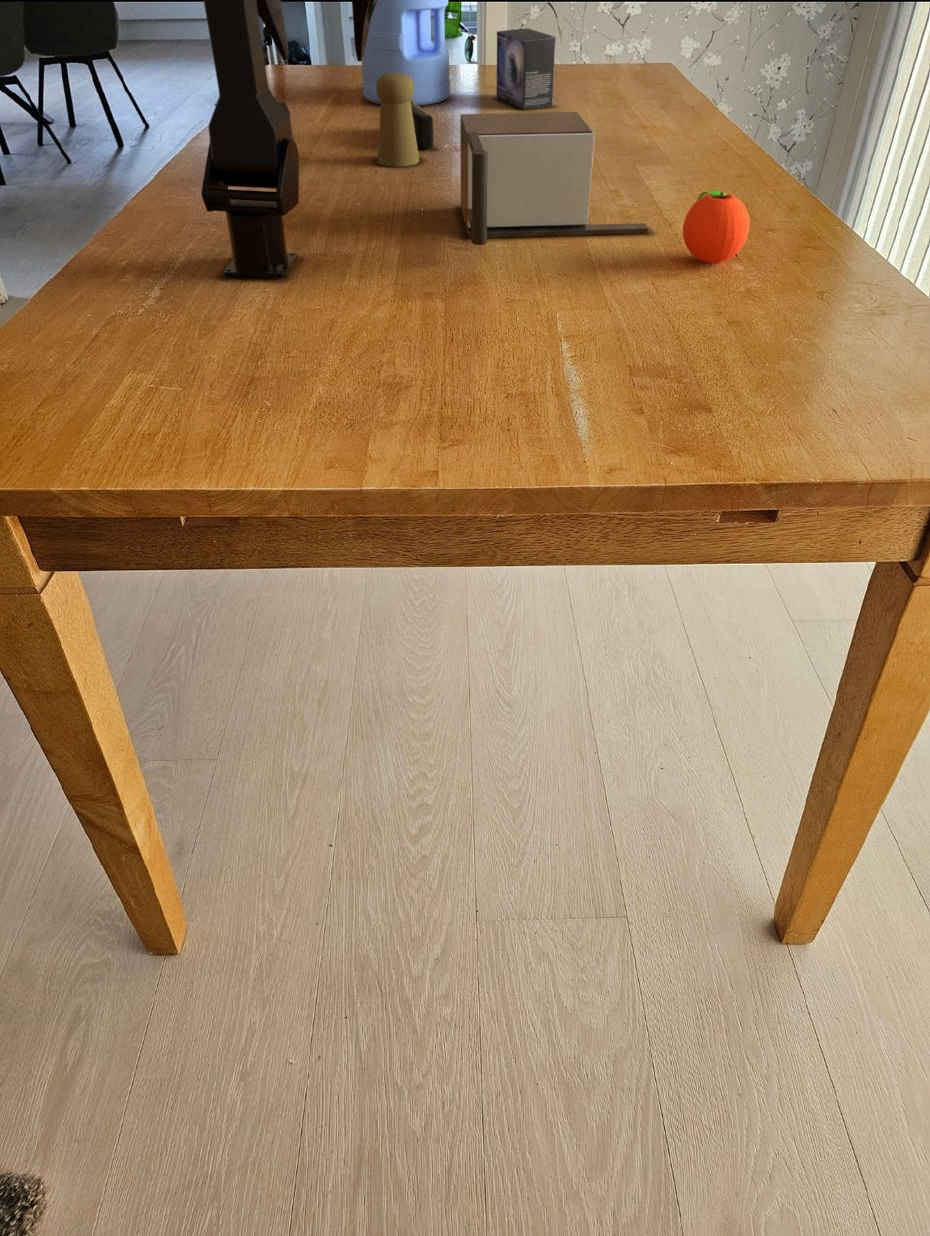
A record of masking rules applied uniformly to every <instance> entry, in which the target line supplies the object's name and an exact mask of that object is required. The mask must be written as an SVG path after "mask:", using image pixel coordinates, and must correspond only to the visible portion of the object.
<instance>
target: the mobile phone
mask: <svg viewBox="0 0 930 1236" xmlns="http://www.w3.org/2000/svg"><path fill="white" fill-rule="evenodd" d="M410 102H411V108H412V115H413V122H414V128H415V135H416V142H417V148H418V150H419V149H420V150H427V149H432V148H433V147H434V119H433V116H432V115H430V114H429V113H427V112H426V111H425V110H424V109H423V108H421V106H417V104H416V103H415V102H414V101H413V100H412V99H411V101H410Z"/></svg>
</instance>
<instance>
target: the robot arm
mask: <svg viewBox="0 0 930 1236" xmlns="http://www.w3.org/2000/svg"><path fill="white" fill-rule="evenodd" d="M377 1H378V0H351V8H352V22H353V24H352V25H353V36H354V37H353V38H354V39H353V40H354V49H355V54H356V60H357V62H362V60H363V57H364V52H365V47H366V42H367V37H368V32H369V27H370V22H371V18H372V15H373V12H374V9H375V6H376V3H377ZM203 5H204V11H205V18H206V23H207V28H208V35H209V41H210V46H211V52H212V57H213V58H212V59H213V64H214V70H215V77H216V80H217V81H216V82H217V88H218V99H217V101H216V105H215V107H214V109H213V110H214V111H213V112H212V115H211V118H210V120H209V123H208V137H209V143H208V149H207V155H206V161H205V168H204V173H203V180H202V187H201V198H202V201H203V204H204V206H205V209H206V212H211V213H212V212H225V216H226V222H227V229H228V234H229V235H228V236H229V241H230V247H231V253H232V260H231V262H230V263H229V264H228V265H227V266H226V268H225V269H223V274H224V276H225V277H240V278H241V277H242V278H243V277H244V278H271V279H272V278H273V279H274V278H275V279H282V278H285V277H286V276H287V274H288V273H289V272H290V270H291V269H292V267H293V266H294V264H295V263H296V262H297V260H298V253H295V252H288V250H287V241H286V233H285V225H284V217H285V216H287V215H288V214H289V213H290V212H291V211H292V210H294V208H295V207H296V206H297V205H299V203H300V201H299V200H300V159H299V157H300V155H299V150H298V145H297V143H296V141H295V140H294V137H293V136H294V135H293V132H292V122H291V120H292V119H291V112H290V109H289V106H288V105H287V104H286V102H284V101H278V99H277V98H276V96H275V95H274V94H273V93H272V91H271V90H270V88H269V83H268V76H267V69H266V68H267V67H266V62H265V53H264V48H263V40H262V33H261V26H260V25H261V24H260V19H261V21H262V23H263V25H264V26H265V28H266V30H267V32H268V34H269V36H270V37H271V40H272V41H273V43H274V45H275V47H276V49H277V51H278V53H279V55H280V56H281V58H282V60H283V61H288V60H289V58H290V52H289V42H288V36H287V31H286V26H285V20H284V16H283V15H284V14H283V10H282V0H203ZM229 187H232V188H250V189H249V190H248V189H232V188H231V189H229ZM251 188H252V189H270V190H271V189H273V190H275V191H270V190H269V191H268V190H251Z"/></svg>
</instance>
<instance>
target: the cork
mask: <svg viewBox="0 0 930 1236" xmlns="http://www.w3.org/2000/svg"><path fill="white" fill-rule="evenodd" d="M376 92H377V95H378V98H379V99H380V101H381V104H380V113H379V114H380V115H379V129H378V146H377V160H376V161H377V164H379V165H381V166H385V167H396V168H397V167H399V168H400V167H408V166H409V167H410V166H414V165H417V164H418V163H419V162H420V156H419V155H420V154H419V148H417V142H416V135H415V128H414V122H413V115H412V108H411V102H410V101H411V99H412V97H413V93H414V84H413V80H412V79H411V77H410V76H408V75H406V74H402V73H388V74H384V75H381V76H380V77H379V79H378V81H377V85H376Z"/></svg>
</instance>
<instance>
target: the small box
mask: <svg viewBox="0 0 930 1236" xmlns="http://www.w3.org/2000/svg"><path fill="white" fill-rule="evenodd" d="M556 39H557V37H556V36H554V35H551V34H548V33H544V32H541V31H537V30H535V29H532V28H528V27H526V28H525V27H524V28H516V29H508V30H506V29H505V30H497V31H496V95H495V96H496V99H497V100H501V101H502V102H505V103H508V104H509V105H511V106H514V107H517V108H518V109H521V110H532V109H539V108H541V109H542V108H550V107H553V106H554V81H555V79H554V78H555V56H556V55H555V53H556V42H557V41H556Z"/></svg>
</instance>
